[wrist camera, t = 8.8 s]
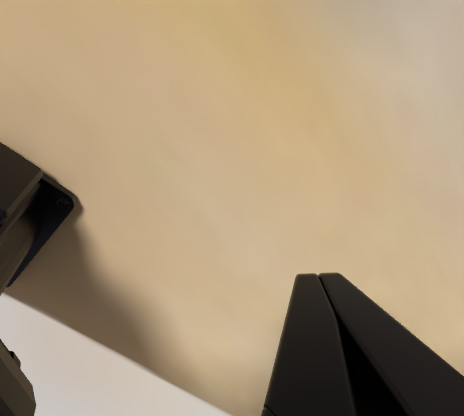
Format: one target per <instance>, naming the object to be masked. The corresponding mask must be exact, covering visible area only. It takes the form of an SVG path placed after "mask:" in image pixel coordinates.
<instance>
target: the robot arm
mask: <svg viewBox="0 0 464 416" xmlns="http://www.w3.org/2000/svg"><path fill="white" fill-rule="evenodd" d="M60 198H64V199H66V200H67V201H68V204H63V203H61V202H60V200H59V199H60ZM75 204H76V197H75V195H74V194H73V193H72V192H71V191H69V190H67V189H66V188H64V187H63V186H61V185H60V184H58V183H57V182H55V181H54V180H52V179H51V178H49V177H48V176H46V175H45V174H43V173H42V171H41V169H40V168H39V167H37V166H36V165H34V164H33V163H31V162H30V161H28V160H27V159H25V158H24V157H22V156H20V155H19V154H17V153H16V152H14V151H13V150H11V149H10V148H8V147H7V146H5V145H4V144H2V143H1V142H0V295H1V294H2V292H3V291H4V289H5V288H6V287H9V286H10V285H12V283H13V282H14V281H15V280H16V279H17V277H18V276H19V275H20V274H21V272H22V271H23V270H24V269H25V267H26V266H27V265H28V264H29V262H30V261H31V260H32V259H33V257H34V256H35V255H36V254H37V253H38V251H39V250H40V249H41V248H42V246H43V245H44V244H45V243H46V241H47V240H48V239H49V238H50V236H51V235H52V234H53V233H54V232H55V230H56V229H57V228H58V227H59V225H60V224H61V223H62V222H63V220H64V219H65V218H66V217H67V215H68V214H69V213H70V212H71V211H72V209H73V207H74V206H75ZM35 408H36V402H35V398H34V392H33V387H32V385H31V383H30V382H29V380H28V379H27V377H26V376H25V375H24V373H23V372H22V371H21V369H20V360H19V359H18V357H17V356H16V355H15V353H14V352H13V351H9V350H8V349H7V347H6V346H5V345H4V343H3V342H2V341H1V339H0V416H34V413H35ZM261 416H464V376H463V375H461V374H460V373H459V372H458V371H457V370H455V369H454V368H453V367H452V366H451V365H449V364H448V363H447V362H446V361H445V360H443V359H442V358H441V357H440V356H439V355H437V354H436V353H435V352H434V351H433V350H431V349H430V348H429V347H428V346H427V345H425V344H424V343H423V342H422V341H421V340H419V339H418V338H417V337H416V336H415V335H413V334H412V333H411V332H410V331H409V330H407V329H406V328H405V327H404V326H403V325H401V324H400V323H399V322H398V321H396V320H395V319H394V318H393V317H392V316H390V315H389V314H388V313H387V312H386V311H384V310H383V309H382V308H381V307H380V306H378V305H377V304H376V303H375V302H374V301H372V300H371V299H370V298H369V297H368V296H366V295H365V294H364V293H363V292H362V291H360V290H359V289H358V288H357V287H356V286H354V285H353V284H352V283H351V282H350V281H348V280H347V279H346V278H345V277H344V276H342V275H341V274H339V273H320V274H319V275H316V274H314V273H311V274H298V275H297V276H296V278H295V282H294V286H293V290H292V294H291V298H290V302H289V306H288V310H287V314H286V318H285V322H284V326H283V330H282V334H281V338H280V343H279V347H278V351H277V355H276V359H275V363H274V367H273V371H272V375H271V379H270V383H269V387H268V391H267V395H266V399H265V403H264V409H263V411H262V414H261Z"/></svg>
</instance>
